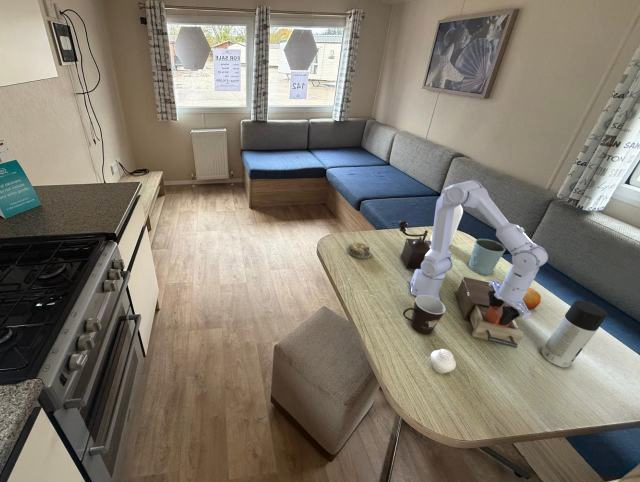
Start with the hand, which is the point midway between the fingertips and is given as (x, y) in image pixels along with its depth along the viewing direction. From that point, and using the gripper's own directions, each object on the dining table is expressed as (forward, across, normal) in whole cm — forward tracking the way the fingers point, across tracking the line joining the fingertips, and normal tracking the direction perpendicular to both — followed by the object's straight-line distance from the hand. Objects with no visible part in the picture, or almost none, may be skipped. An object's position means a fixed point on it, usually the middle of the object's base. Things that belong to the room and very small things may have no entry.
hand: (497, 318), depth 96 cm
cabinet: (+7, -11, +4) cm, 13 cm away
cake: (+7, -45, -30) cm, 54 cm away
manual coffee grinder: (+7, -39, -10) cm, 41 cm away
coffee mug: (+7, -2, -23) cm, 24 cm away
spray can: (+7, +9, +14) cm, 18 cm away
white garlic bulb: (+7, +14, -23) cm, 28 cm away
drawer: (+6, 0, 0) cm, 6 cm away
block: (+1, 0, 0) cm, 1 cm away
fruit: (+7, -14, +21) cm, 26 cm away
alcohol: (+7, -56, +13) cm, 58 cm away
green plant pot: (+7, -36, +19) cm, 41 cm away
